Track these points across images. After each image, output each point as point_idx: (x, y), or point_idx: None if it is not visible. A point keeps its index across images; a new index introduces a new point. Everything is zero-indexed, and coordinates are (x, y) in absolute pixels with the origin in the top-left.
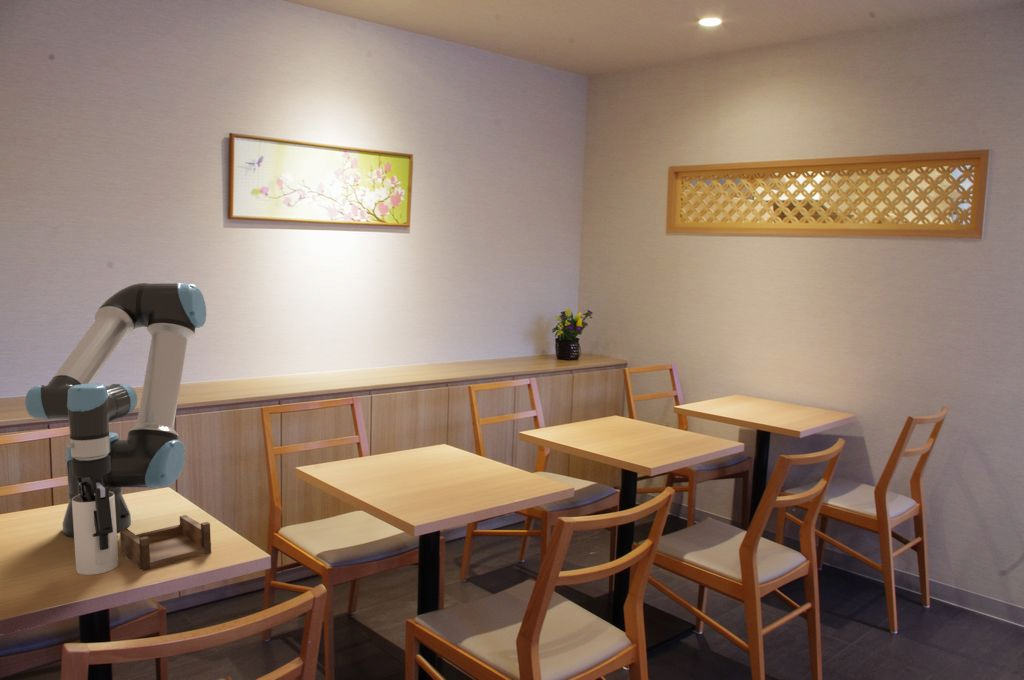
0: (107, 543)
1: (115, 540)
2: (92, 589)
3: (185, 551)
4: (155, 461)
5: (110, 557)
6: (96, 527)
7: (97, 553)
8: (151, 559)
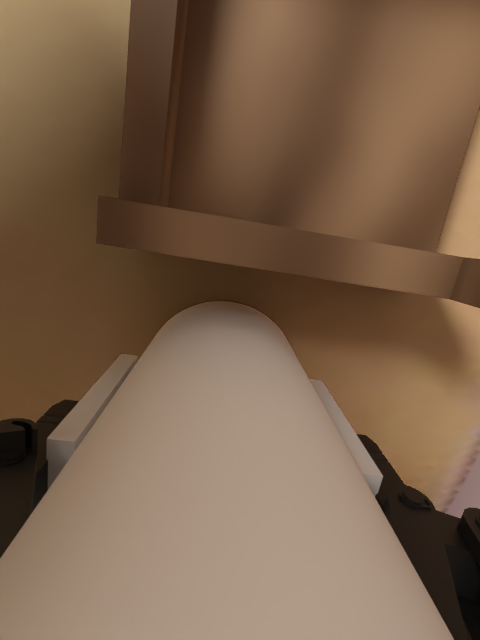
0: (383, 460)
1: (302, 371)
2: (394, 461)
3: (470, 52)
4: None
5: (328, 391)
6: None
7: None
8: (409, 233)
